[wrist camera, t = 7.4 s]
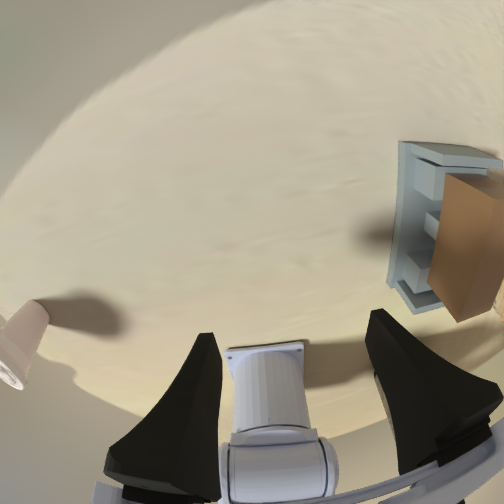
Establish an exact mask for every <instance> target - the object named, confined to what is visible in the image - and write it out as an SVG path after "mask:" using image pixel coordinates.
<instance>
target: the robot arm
mask: <svg viewBox="0 0 504 504" xmlns="http://www.w3.org/2000/svg"><path fill="white" fill-rule="evenodd" d="M365 343H366V346H367V350H368V353H369V357H370V360H371V362H372V365H373V367H374V370H375V372H376V374H377V377H378V379H379V382H380V384H381V386H382V389H383V391H384V394H385V397H386V400H387V403H388V406H389V410H390V414H391V419H392V423H393V428H394V434H395V440H396V447H397V457H398V471H399V474H400V476H398V477H395V478H393V479H390V480H387V481H384V482H381V483H378V484H375V485H371V486H368V487H364V488H361V489H357V490H353V491H350V492H345V493H341V494H337V495H335V489H336V487H337V484H338V479H339V465H338V459H337V454H336V451H335V449H334V446H333V445H332V443H330V442H329V441H328V440H327V439H326V438H325V437H318V434H317V429H316V428H314V429H311V425H310V419H309V413H308V407H307V402H306V396H305V390H304V385H303V379H304V344H303V342H301V341H298V342H291V343H284V344H276V345H268V346H258V347H249V348H238V349H227V350H225V351H224V356H225V359H226V362H227V365H228V368H229V371H230V374H231V377H232V380H233V382H234V383H233V433H231V434H230V443H226V442H224V443H222V445H221V446H220V447H218V418H219V408H220V399H221V390H222V380H223V378H222V358H221V355H220V352H219V349H218V346H217V343H216V340H215V337H214V334H213V332H212V333H200V334H199V335H198V337H197V339H196V341H195V343H194V345H193V347H192V349H191V351H190V353H189V355H188V357H187V359H186V360H185V362H184V364H183V366H182V367H181V369H180V371H179V373H178V374H177V376H176V377H175V379H174V381H173V382H172V384H171V385H170V387H169V388H168V390H167V391H166V392H165V394H164V395H163V396H162V398H161V399H160V400H159V402H158V403H157V404H156V405H155V406H154V408H153V409H152V410H151V411H150V412H149V413H148V414H147V415H146V417H145V418H144V419H143V420H142V421H141V422H140V423H138V424H137V425H136V426H135V427H134V428H133V429H132V430H131V431H130V432H129V433H128V434H126V435H125V436H124V437H123V438H121V439H120V440H119V441H117V442H116V443H115V444H113V445H112V446H111V447H109V450H108V453H107V457H106V462H105V467H104V471H103V472H104V474H105V475H106V476H108V477H110V478H112V479H114V480H116V481H118V482H120V483H122V484H124V487H123V489H121V488H118V487H115V486H111V485H108V484H105V483H101V482H98V481H96V482H95V485H94V491H93V496H92V502H91V504H204V503H211V502H217V501H218V503H219V504H356V503H360V502H364V501H366V500H370V499H374V498H377V497H380V496H383V495H386V494H388V493H392V492H394V491H397V490H400V489H402V488H405V487H407V486H410V485H412V484H413V485H412V486H411V487H410V490H408V491H405V492H403V493H400V494H397V495H395V496H392V497H390V498H388V499H386V500H383V501H380V502H379V503H378V504H457V503H458V502H460V501H461V500H463V499H464V498H466V497H467V496H468V495H470V494H471V493H473V492H474V491H475V490H477V489H478V488H479V487H481V486H482V485H483V484H485V483H486V482H487V481H488V480H490V479H491V478H492V477H493V476H495V475H496V474H497V473H498V472H499V471H501V470H502V469H503V468H504V418H502V419H501V420H500V421H498V422H497V423H495V424H494V425H493V426H491V427H489V425H488V423H490V418H489V415H490V414H491V413H492V412H493V411H494V410H495V409H496V408H497V407H498V406H499V405H500V404H501V402H502V401H503V398H504V396H503V395H502V392H501V390H500V389H499V387H498V385H497V383H494V382H491V381H488V380H485V379H482V378H479V377H477V376H475V375H472V374H470V373H468V372H466V371H464V370H462V369H460V368H458V367H456V366H455V365H453V364H451V363H449V362H448V361H446V360H445V359H443V358H442V357H440V356H439V355H437V354H436V353H434V352H433V351H431V350H430V349H429V348H428V347H426V346H425V345H424V344H422V343H421V342H420V341H419V340H418V339H416V338H415V337H414V336H413V335H412V334H411V333H409V332H408V331H407V330H406V329H405V328H404V327H403V326H402V325H401V324H399V323H398V322H397V321H396V320H395V319H394V318H393V317H392V316H391V315H390V314H389V313H388V312H386V311H385V310H384V309H383V308H382V309H377V310H372V311H371V314H370V319H369V324H368V328H367V333H366V337H365ZM230 356H231V357H230Z"/></svg>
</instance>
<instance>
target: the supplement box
mask: <svg viewBox="0 0 504 504" xmlns="http://www.w3.org/2000/svg"><path fill="white" fill-rule="evenodd" d="M492 307H493V308H494V310H495V311H496V312H497V313H498V315H499V316H500V317H501V319H502V320H503V321H504V279H503V281H502V284H501V286H500V289H499V291H498V294H497V296H496V299H495V301H494V303H493V305H492Z"/></svg>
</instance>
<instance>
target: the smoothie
mask: <svg viewBox="0 0 504 504" xmlns="http://www.w3.org/2000/svg"><path fill="white" fill-rule="evenodd" d="M49 320H50V319H49V315H48V313H47V311H46V310H45V309H44V307H43V306H42V305H41V304H39V303H38V302H36V301H34V300H29V301H28V302H27V303H26V304H25V305H24V306H22V307H21V308H20V309H19V310H18V311H17V312H16V313H15V314H14V315H13V316H12V317H11V318H10V319H9V320H8V322H7V323H6V324H5V325H4V326H3V327H2V328H1V329H0V378H1V379H2V380H3V381H5V382H6V383H7V384H9V385H11V386H12V387H14V388H16V389H19V390H23V389H24V388H25V386H26V384H27V383H28V381H27V375H28V372H29V370H30V367H31V364H32V361H33V359H34V356H35V353H36V351H37V348H38V346H39V344H40V341H41V339H42V336H43V334H44V332H45V330H46V327H47V325H48V323H49Z"/></svg>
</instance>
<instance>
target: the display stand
mask: <svg viewBox="0 0 504 504" xmlns="http://www.w3.org/2000/svg"><path fill="white" fill-rule="evenodd" d="M486 168H492V169H503V160H501V159H498V158H496V157H494V156H491V155H489V154H486V153H483V152H481V151H478V150H476V149H475V148H472V147H469V146H461V145H452V144H441V143H428V142H411V141H399V161H398V188H397V203H396V215H395V225H394V234H393V242H392V249H391V256H390V263H389V269H388V275H387V281H386V282H387V284H388V285H389V287H390V288H396V289H397V291H398V292H399V294H400V295H401V297H402V298H403V300H404V301H405V303H406V304H407V306H408V307H409V309H410V310H411V312H412V314H413V315H416V314H420V313H423V312H427V311H431V310H434V309H438V308H441V307H444V306H445V305H444V304H443V303H442V301H441V300H440V299H439V298H438V296H437V295H436V294H435V292H434V291H433V290H432V289H431V287H430V286H429V285H428V284H427V278H428V274H429V270H430V266H431V262H432V257H433V253H434V248H435V243H436V238H437V233H438V227H439V221H440V215H441V208H442V200H443V192H444V182H445V173H469V174H481V175H483V176H485V177H487V170H488V169H486Z"/></svg>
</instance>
